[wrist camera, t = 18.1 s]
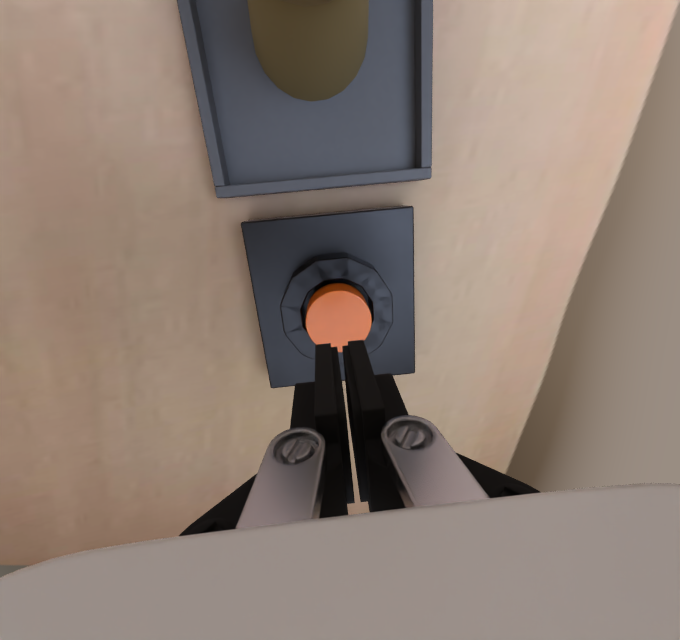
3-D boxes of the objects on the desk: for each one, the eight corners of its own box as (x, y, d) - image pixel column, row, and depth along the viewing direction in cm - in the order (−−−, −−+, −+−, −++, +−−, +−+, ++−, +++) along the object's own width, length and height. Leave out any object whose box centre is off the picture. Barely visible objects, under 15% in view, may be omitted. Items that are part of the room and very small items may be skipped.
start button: (303, 285, 19) (301, 293, 17) (365, 279, 19) (369, 287, 17) (310, 343, 20) (309, 355, 19) (369, 337, 20) (373, 349, 19)
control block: (247, 219, 21) (232, 224, 17) (404, 205, 21) (422, 206, 18) (274, 373, 25) (266, 404, 21) (407, 359, 25) (422, 387, 21)
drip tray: (157, -155, 15) (135, -204, 13) (421, -172, 16) (435, -223, 14) (225, 198, 21) (216, 198, 19) (421, 180, 21) (431, 178, 19)
